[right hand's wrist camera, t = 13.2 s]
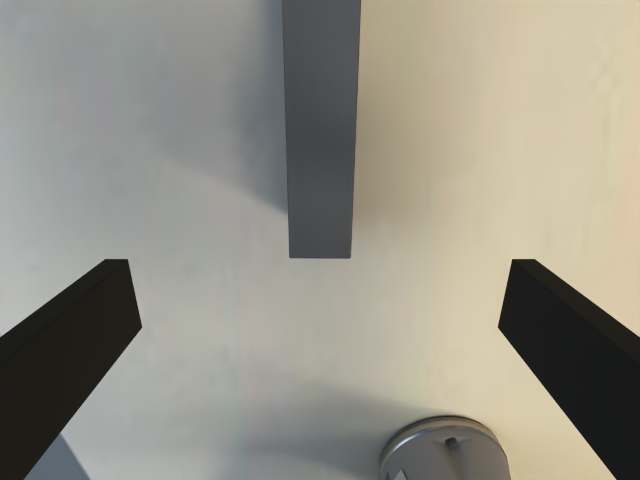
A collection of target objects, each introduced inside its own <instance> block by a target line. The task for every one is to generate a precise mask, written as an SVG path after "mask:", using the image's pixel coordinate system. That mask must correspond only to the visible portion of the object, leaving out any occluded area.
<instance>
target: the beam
mask: <svg viewBox="0 0 640 480" xmlns="http://www.w3.org/2000/svg"><path fill="white" fill-rule="evenodd" d="M282 11H283V46H284V82H285V118H286V153H287V189H288V225H289V257H290V258H351V241H352V216H353V191H354V165H355V140H356V115H357V90H358V65H359V40H360V15H361V0H282Z"/></svg>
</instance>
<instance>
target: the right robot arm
mask: <svg viewBox="0 0 640 480" xmlns="http://www.w3.org/2000/svg"><path fill="white" fill-rule="evenodd" d="M141 328H142V324H141V320H140V315H139V310H138V305H137V301H136V296H135V291H134V287H133V282H132V277H131V273H130V268H129V263H128V259H105V260H104V261H102V262H101V263H99V264H98V265H97V266H95V267H94V268H93V269H91V270H90V271H89V272H87V273H86V274H85V275H83V276H82V277H81V278H79V279H78V280H77V281H75V282H74V283H73V284H71V285H70V286H69V287H67V288H66V289H65V290H63V291H62V292H61V293H59V294H58V295H57V296H55V297H54V298H52V299H51V300H50V301H48V302H47V303H46V304H44V305H43V306H42V307H40V308H39V309H38V310H36V311H35V312H34V313H32V314H31V315H30V316H28V317H27V318H26V319H24V320H23V321H22V322H20V323H19V324H18V325H16V326H15V327H14V328H12V329H11V330H10V331H8V332H7V333H6V334H4V335H3V336H1V337H0V480H24V478H25V477H26V476H27V474H28V473H29V472H30V471H31V469H32V468H33V467H34V465H35V464H36V463H37V462H38V460H39V459H40V458H41V456H42V455H43V454H44V453H45V451H46V450H47V449H48V448H49V446H50V445H51V444H52V442H53V441H54V440H55V439H56V437H57V436H58V435H59V433H60V432H61V431H62V430H63V428H64V427H65V426H66V424H67V423H68V422H69V421H70V419H71V418H72V417H73V415H74V414H75V413H76V412H77V410H78V409H79V408H80V406H81V405H82V404H83V403H84V401H85V400H86V399H87V397H88V396H89V395H90V394H91V392H92V391H93V390H94V389H95V387H96V386H97V385H98V383H99V382H100V381H101V380H102V378H103V377H104V376H105V374H106V373H107V372H108V371H109V369H110V368H111V367H112V365H113V364H114V363H115V362H116V360H117V359H118V358H119V356H120V355H121V354H122V353H123V351H124V350H125V349H126V347H127V346H128V345H129V344H130V342H131V341H132V340H133V338H134V337H135V336H136V335H137V333H138V332H139V331H140V330H141ZM498 328H499V330H500V331H501V332H502V333H503V335H504V336H505V337H506V338H507V340H508V341H509V342H510V344H511V345H512V346H513V347H514V349H515V350H516V351H517V353H518V354H519V355H520V356H521V358H522V359H523V360H524V362H525V363H526V364H527V365H528V367H529V368H530V369H531V371H532V372H533V373H534V374H535V376H536V377H537V378H538V380H539V381H540V382H541V383H542V385H543V386H544V387H545V389H546V390H547V391H548V392H549V394H550V395H551V396H552V397H553V399H554V400H555V401H556V403H557V404H558V405H559V406H560V408H561V409H562V410H563V412H564V413H565V414H566V415H567V417H568V418H569V419H570V421H571V422H572V423H573V424H574V426H575V427H576V428H577V430H578V431H579V432H580V433H581V435H582V436H583V437H584V439H585V440H586V441H587V442H588V444H589V445H590V446H591V448H592V449H593V450H594V451H595V453H596V454H597V455H598V457H599V458H600V459H601V460H602V462H603V463H604V464H605V465H606V467H607V468H608V469H609V471H610V472H611V473H612V474H613V476H614V477H615V478H616V480H640V337H639V336H637V335H636V334H634V333H633V332H632V331H630V330H629V329H628V328H626V327H625V326H624V325H622V324H621V323H620V322H618V321H617V320H616V319H614V318H613V317H612V316H610V315H609V314H608V313H606V312H605V311H604V310H602V309H601V308H600V307H598V306H597V305H596V304H594V303H593V302H592V301H590V300H589V299H588V298H586V297H585V296H583V295H582V294H581V293H579V292H578V291H577V290H575V289H574V288H573V287H571V286H570V285H569V284H567V283H566V282H565V281H563V280H562V279H561V278H559V277H558V276H557V275H555V274H554V273H553V272H551V271H550V270H549V269H547V268H546V267H545V266H543V265H542V264H541V263H539V262H538V261H536V260H535V259H512V263H511V268H510V273H509V277H508V282H507V287H506V291H505V296H504V301H503V305H502V310H501V315H500V320H499V324H498ZM379 469H380V475H381V480H511V477H510V472H509V466H508V461H507V458H506V455H505V453H504V451H503V449H502V447H501V445H500V443H499V441H498V439H497V438H496V437H495V435H494V434H493V433H492V432H491V431H490V430H489V429H487V428H486V427H484V426H483V425H481V424H479V423H477V422H474V421H471V420H468V419H464V418H457V417H438V418H432V419H427V420H423V421H420V422H417V423H415V424H412V425H410V426H408V427H406V428H405V429H403V430H401V431H400V432H398V433H397V434H396V435H395V436H394V437H393V438H392V439H391V440H390V441H389V442H388V443H387V444H386V446H385V447H384V449H383V451H382V454H381V456H380V461H379Z"/></svg>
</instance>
